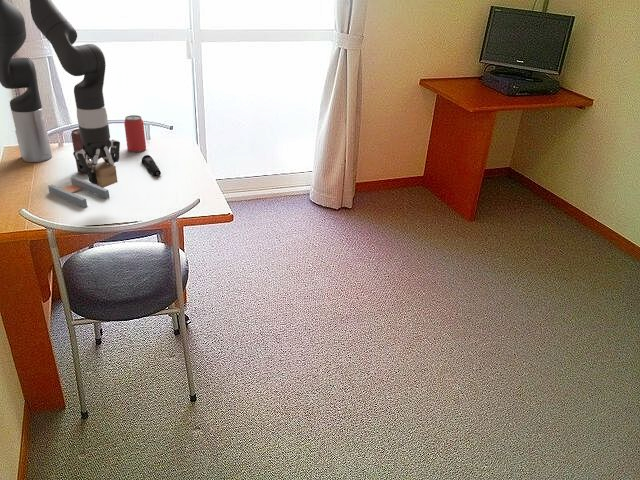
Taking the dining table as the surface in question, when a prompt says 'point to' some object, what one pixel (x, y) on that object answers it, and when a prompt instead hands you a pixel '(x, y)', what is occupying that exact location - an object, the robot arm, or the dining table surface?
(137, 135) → the beer can
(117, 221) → the dining table surface
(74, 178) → the channel
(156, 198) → the dining table surface
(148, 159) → the electric trimmer
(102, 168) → the block
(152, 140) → the dining table surface
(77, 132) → the can
